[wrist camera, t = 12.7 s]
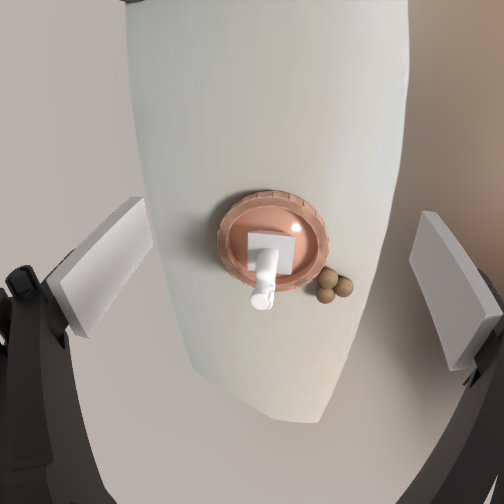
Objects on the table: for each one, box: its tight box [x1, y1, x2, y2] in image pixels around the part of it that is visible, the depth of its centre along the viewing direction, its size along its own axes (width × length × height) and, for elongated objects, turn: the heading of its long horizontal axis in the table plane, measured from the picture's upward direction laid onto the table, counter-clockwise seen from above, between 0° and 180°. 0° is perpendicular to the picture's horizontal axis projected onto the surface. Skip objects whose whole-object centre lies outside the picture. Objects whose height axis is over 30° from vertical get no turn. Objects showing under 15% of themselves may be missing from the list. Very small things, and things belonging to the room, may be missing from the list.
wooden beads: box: [316, 268, 353, 304], centre depth 52 cm, size 7×7×4 cm
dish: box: [217, 191, 329, 292], centre depth 49 cm, size 19×19×3 cm
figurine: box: [248, 230, 295, 310], centre depth 44 cm, size 7×9×15 cm
